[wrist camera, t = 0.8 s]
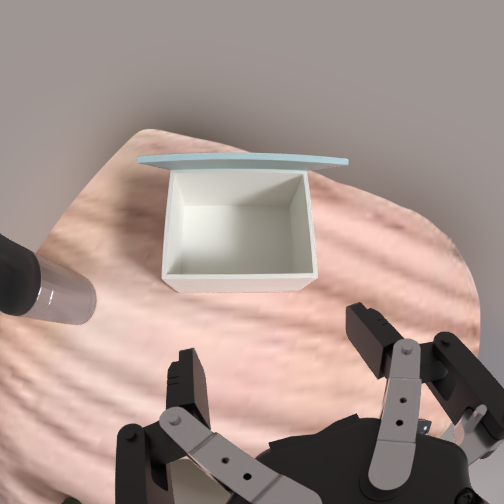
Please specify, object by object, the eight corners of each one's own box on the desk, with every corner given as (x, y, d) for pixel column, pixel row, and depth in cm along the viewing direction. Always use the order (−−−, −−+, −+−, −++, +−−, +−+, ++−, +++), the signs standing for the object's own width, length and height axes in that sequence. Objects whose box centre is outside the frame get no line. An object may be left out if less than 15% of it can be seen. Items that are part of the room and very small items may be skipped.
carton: (178, 292, 46) (161, 278, 35) (182, 205, 51) (170, 170, 39) (297, 291, 48) (317, 277, 36) (291, 205, 52) (306, 170, 41)
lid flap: (136, 162, 24) (136, 156, 24) (171, 170, 39) (171, 166, 39) (348, 165, 25) (348, 159, 25) (305, 170, 41) (306, 166, 41)
